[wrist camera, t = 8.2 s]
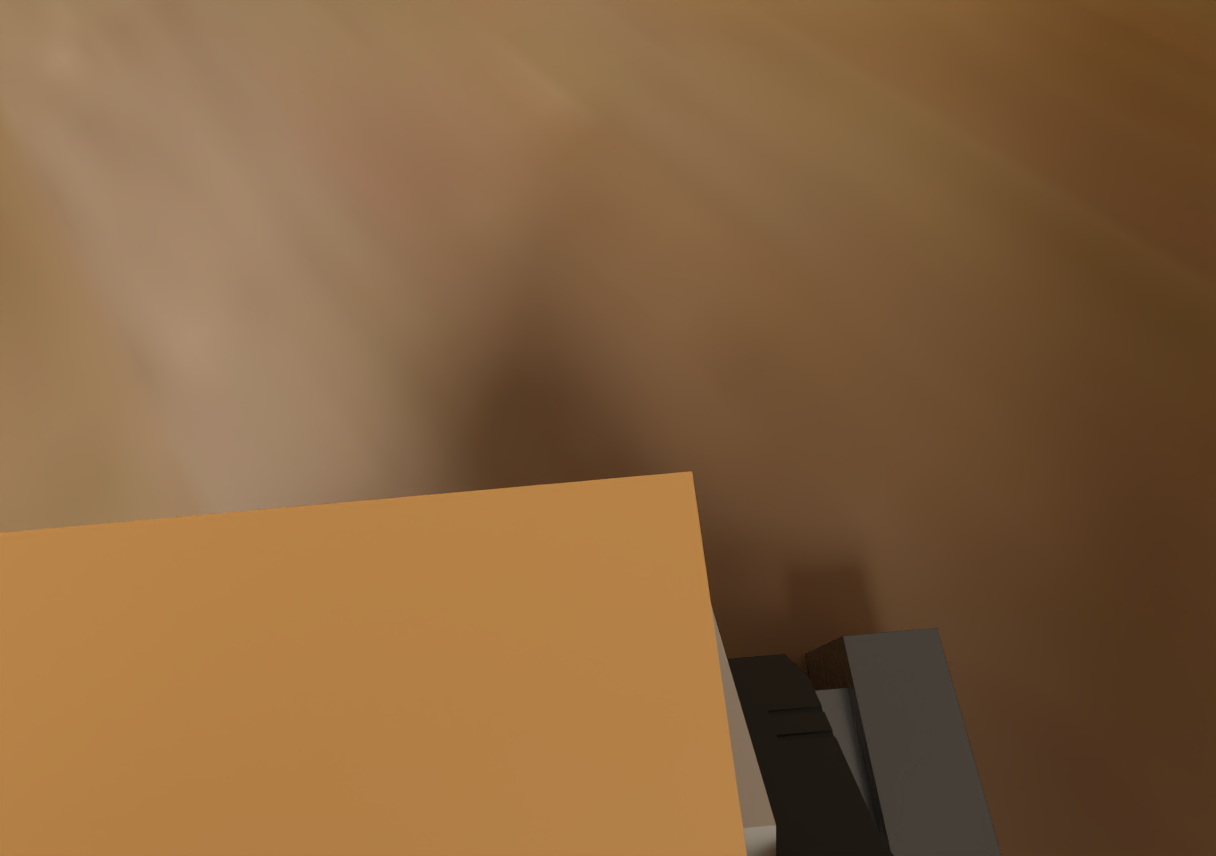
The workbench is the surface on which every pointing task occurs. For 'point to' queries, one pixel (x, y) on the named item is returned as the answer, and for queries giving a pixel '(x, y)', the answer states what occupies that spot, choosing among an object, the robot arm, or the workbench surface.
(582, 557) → the carriage
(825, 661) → the guide rail
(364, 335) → the workbench surface
